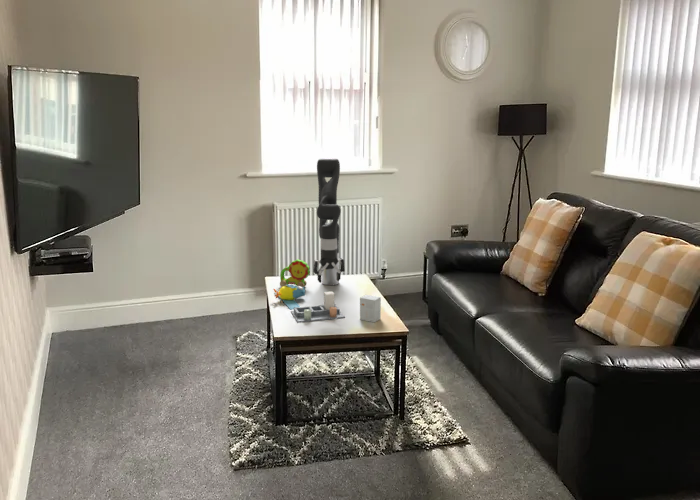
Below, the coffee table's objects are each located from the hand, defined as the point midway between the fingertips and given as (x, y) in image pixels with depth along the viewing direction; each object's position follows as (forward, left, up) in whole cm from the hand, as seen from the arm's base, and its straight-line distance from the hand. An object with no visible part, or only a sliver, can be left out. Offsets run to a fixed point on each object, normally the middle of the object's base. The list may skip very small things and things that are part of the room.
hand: (329, 281), depth 289 cm
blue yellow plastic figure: (-23, -14, -16) cm, 31 cm away
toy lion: (-44, -7, -16) cm, 47 cm away
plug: (0, 0, -15) cm, 15 cm away
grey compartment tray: (+2, -6, -15) cm, 16 cm away
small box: (+14, +15, -15) cm, 26 cm away
